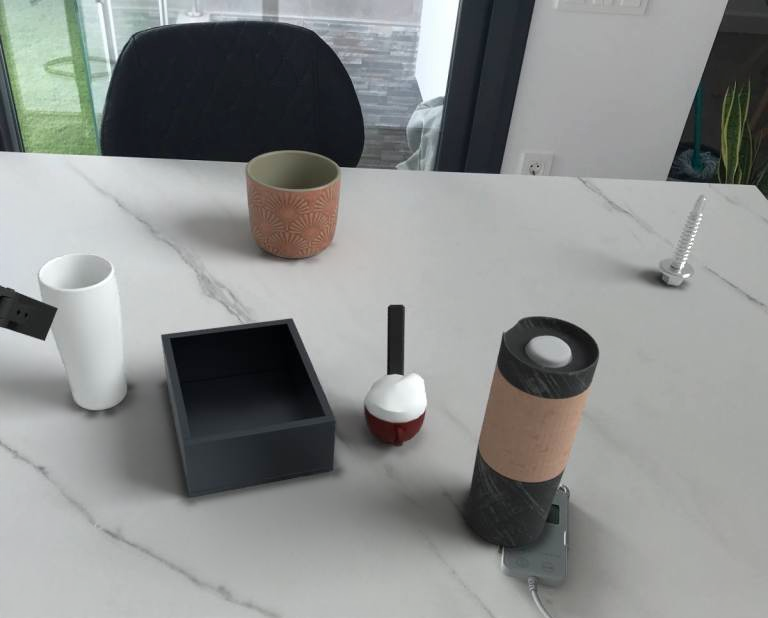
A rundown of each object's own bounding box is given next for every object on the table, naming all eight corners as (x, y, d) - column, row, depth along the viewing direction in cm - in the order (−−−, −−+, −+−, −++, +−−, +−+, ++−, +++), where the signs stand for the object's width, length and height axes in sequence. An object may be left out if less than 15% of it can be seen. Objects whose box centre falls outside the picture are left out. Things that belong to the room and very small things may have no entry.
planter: (346, 229, 112) (350, 157, 105) (326, 273, 102) (329, 196, 95) (263, 216, 113) (261, 144, 106) (235, 258, 103) (232, 181, 96)
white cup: (70, 424, 77) (40, 296, 67) (62, 382, 81) (32, 257, 72) (140, 409, 79) (120, 284, 70) (128, 370, 84) (108, 247, 74)
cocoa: (410, 466, 76) (424, 370, 68) (350, 450, 77) (356, 353, 69) (434, 407, 83) (448, 314, 75) (378, 393, 84) (387, 300, 76)
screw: (667, 292, 105) (647, 273, 109) (696, 288, 107) (676, 270, 110) (699, 204, 97) (676, 187, 101) (730, 201, 99) (707, 185, 102)
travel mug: (555, 549, 69) (614, 375, 57) (471, 550, 68) (512, 373, 56) (535, 486, 75) (585, 315, 62) (457, 486, 74) (492, 313, 62)
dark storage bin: (167, 384, 82) (160, 334, 78) (292, 366, 86) (292, 317, 82) (189, 497, 70) (183, 445, 66) (333, 470, 75) (336, 419, 70)
